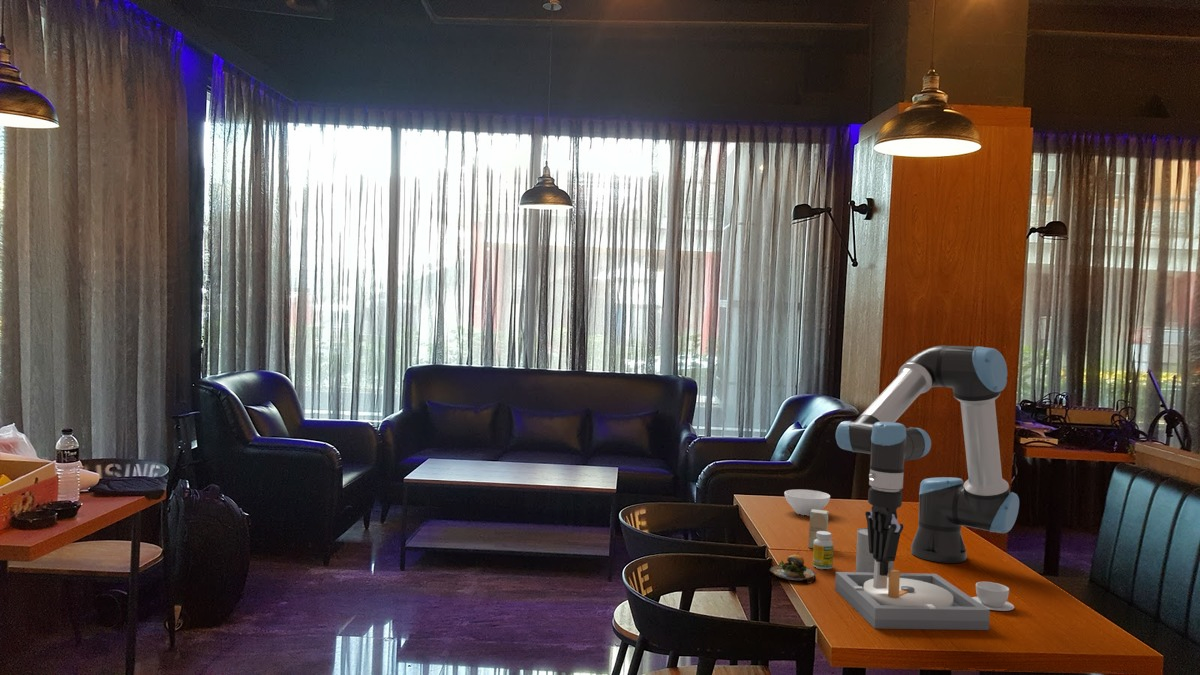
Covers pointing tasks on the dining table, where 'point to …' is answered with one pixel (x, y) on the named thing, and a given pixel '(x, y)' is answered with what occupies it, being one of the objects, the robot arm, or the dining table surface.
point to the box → (817, 524)
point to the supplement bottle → (823, 550)
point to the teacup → (993, 596)
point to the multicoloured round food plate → (793, 569)
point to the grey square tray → (954, 617)
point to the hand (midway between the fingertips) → (879, 587)
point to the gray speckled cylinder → (865, 553)
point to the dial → (908, 592)
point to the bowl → (806, 500)
